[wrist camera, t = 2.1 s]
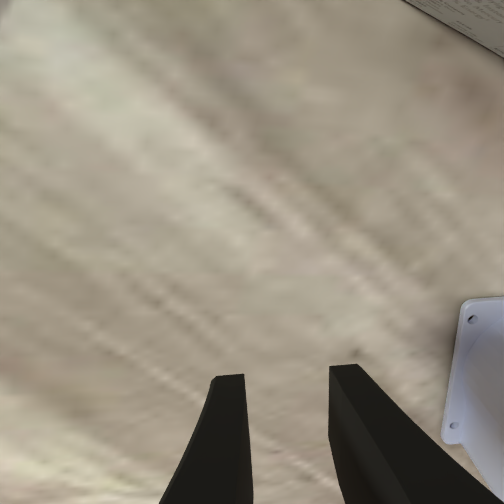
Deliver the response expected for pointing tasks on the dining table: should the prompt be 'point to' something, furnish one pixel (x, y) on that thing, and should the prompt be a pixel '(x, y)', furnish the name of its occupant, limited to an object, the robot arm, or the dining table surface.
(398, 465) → the robot arm
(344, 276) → the dining table surface
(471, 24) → the light bulb box
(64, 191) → the dining table surface
